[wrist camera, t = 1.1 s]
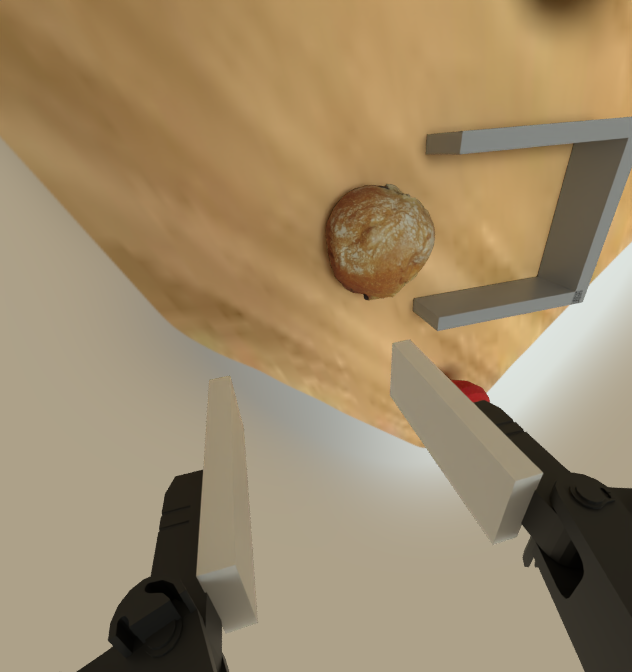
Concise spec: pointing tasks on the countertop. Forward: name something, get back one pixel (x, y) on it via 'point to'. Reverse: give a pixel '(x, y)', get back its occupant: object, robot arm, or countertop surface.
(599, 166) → the box
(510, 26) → the countertop surface
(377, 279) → the bread roll
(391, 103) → the countertop surface
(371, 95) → the countertop surface
